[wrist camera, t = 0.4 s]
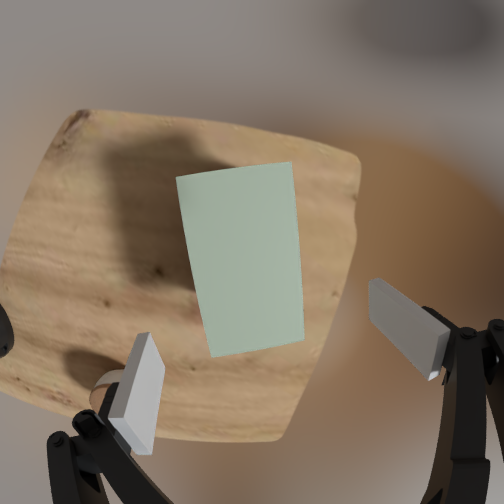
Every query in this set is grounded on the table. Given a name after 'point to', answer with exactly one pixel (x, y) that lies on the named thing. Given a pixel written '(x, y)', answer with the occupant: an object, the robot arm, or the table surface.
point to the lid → (244, 255)
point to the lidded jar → (103, 388)
